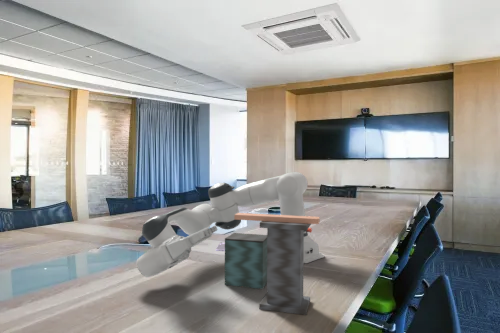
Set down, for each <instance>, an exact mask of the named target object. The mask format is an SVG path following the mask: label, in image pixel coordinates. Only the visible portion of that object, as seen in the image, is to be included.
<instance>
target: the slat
mask: <svg viewBox="0 0 500 333" xmlns="http://www.w3.org/2000/svg"><path fill="white" fill-rule="evenodd" d="M320 217H321V216H313V215H311V216H310V215H309V216H307V215H305V216H292V215H281V214H273V213H272V214H269V213H251V212H249V213H247V212H239V213H237V214H235V215H234V219H235V220H241V221H257V222H261V221H271V222H289V223H307V224H311V225H320V224H319V223H320V222H321V218H320Z"/></svg>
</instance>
